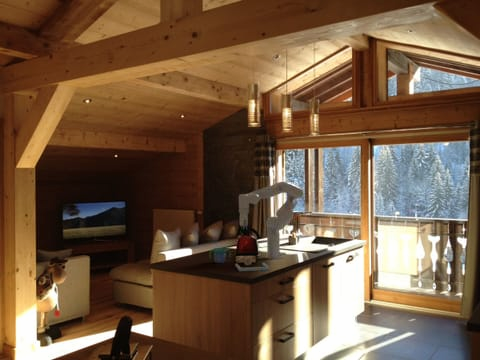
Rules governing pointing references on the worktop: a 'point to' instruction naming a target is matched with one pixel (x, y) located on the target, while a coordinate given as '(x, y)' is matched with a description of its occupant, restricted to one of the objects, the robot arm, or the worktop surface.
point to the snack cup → (220, 254)
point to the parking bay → (253, 268)
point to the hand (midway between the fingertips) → (244, 233)
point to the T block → (246, 259)
